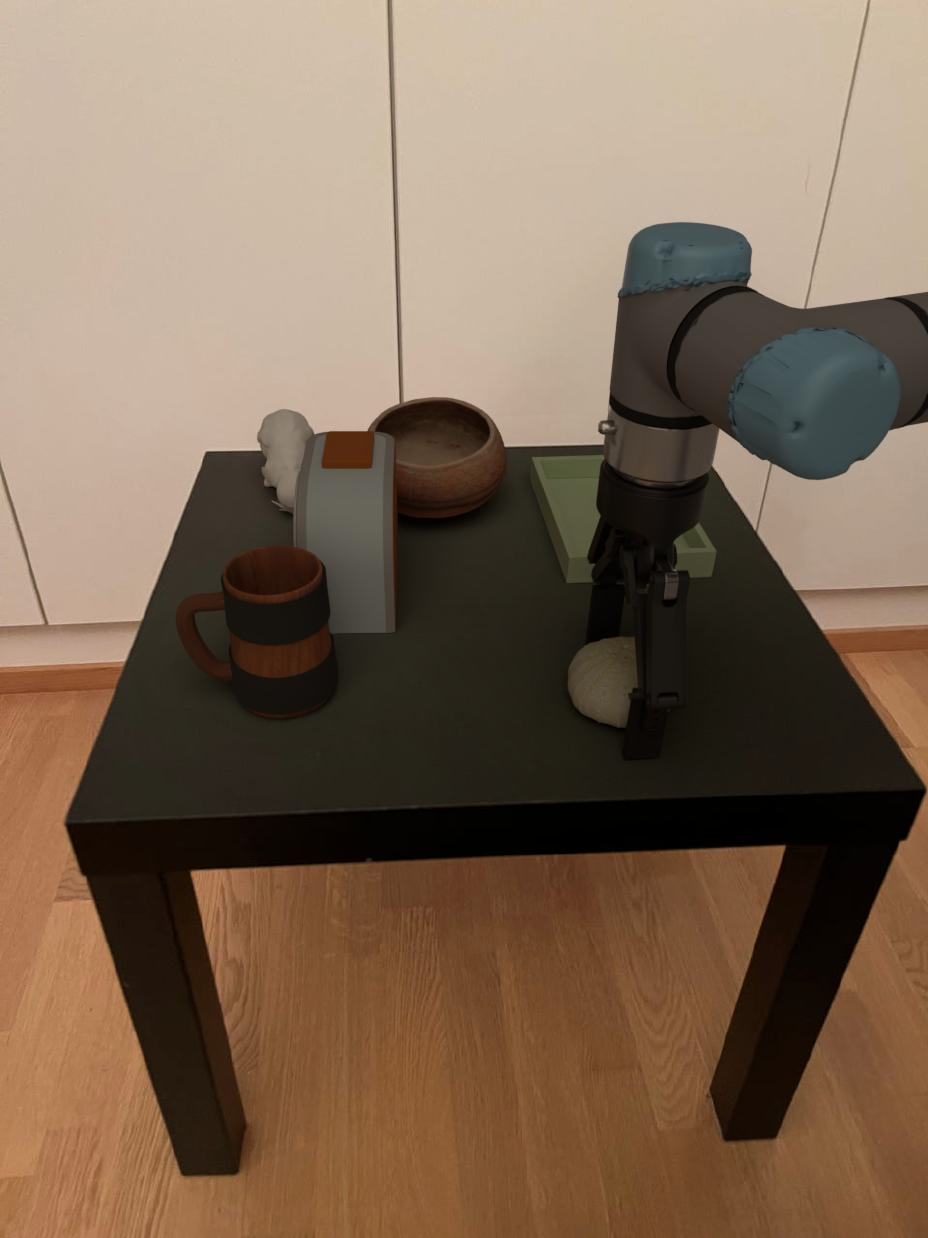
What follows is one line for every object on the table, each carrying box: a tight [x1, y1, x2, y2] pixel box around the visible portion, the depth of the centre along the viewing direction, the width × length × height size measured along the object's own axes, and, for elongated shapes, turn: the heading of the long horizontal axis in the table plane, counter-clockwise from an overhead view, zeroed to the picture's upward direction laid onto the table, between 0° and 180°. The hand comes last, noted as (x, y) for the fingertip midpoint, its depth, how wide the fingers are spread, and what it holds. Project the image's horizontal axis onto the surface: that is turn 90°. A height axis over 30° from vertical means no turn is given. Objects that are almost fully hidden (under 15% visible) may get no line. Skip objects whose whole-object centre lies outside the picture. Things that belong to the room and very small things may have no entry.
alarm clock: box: [292, 430, 399, 634], centre depth 87 cm, size 15×8×14 cm, turn 2°
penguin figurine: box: [256, 408, 315, 515], centre depth 103 cm, size 6×8×12 cm
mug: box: [175, 545, 339, 720], centre depth 75 cm, size 9×12×12 cm
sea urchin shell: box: [566, 635, 671, 729], centre depth 77 cm, size 9×8×8 cm
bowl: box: [367, 396, 508, 519], centre depth 102 cm, size 16×16×10 cm
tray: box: [529, 454, 717, 584], centre depth 101 cm, size 22×15×3 cm
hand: (619, 698), depth 78 cm, fingers open, 13 cm apart
